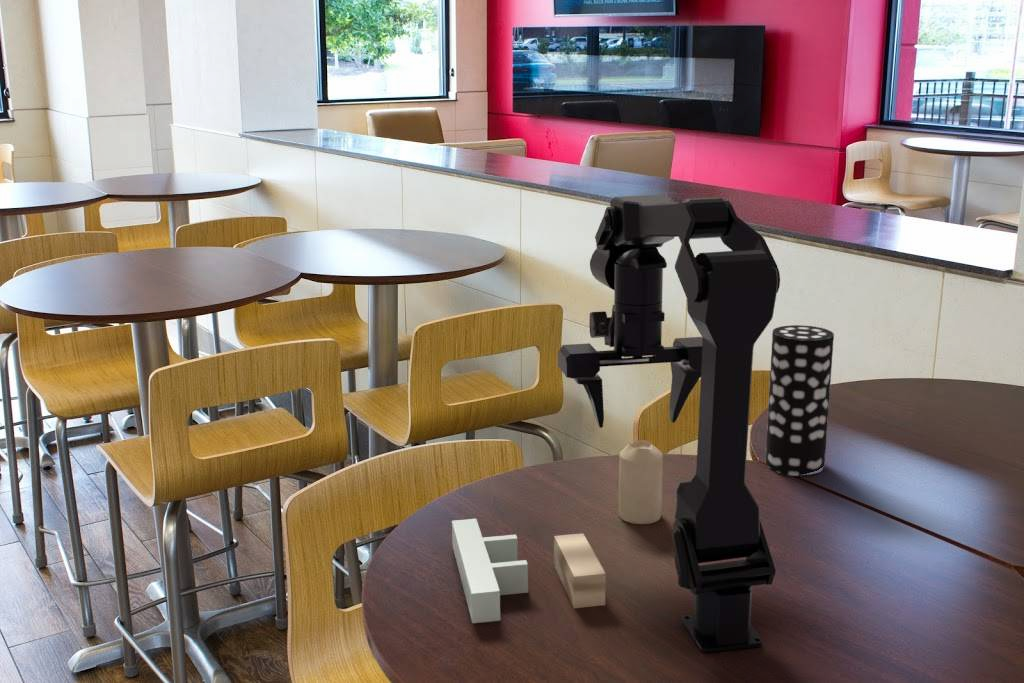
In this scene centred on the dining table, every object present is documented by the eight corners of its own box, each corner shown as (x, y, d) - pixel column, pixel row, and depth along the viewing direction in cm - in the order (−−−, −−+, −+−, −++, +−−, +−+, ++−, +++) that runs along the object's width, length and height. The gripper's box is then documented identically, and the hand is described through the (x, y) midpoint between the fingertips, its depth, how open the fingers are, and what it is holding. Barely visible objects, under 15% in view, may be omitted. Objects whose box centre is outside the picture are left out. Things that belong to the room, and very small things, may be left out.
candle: (659, 526, 130) (661, 453, 127) (616, 523, 131) (617, 450, 128) (662, 508, 135) (664, 437, 132) (620, 505, 136) (621, 435, 133)
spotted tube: (763, 473, 146) (770, 338, 141) (766, 452, 154) (774, 323, 148) (824, 478, 144) (833, 342, 138) (824, 457, 151) (833, 327, 146)
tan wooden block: (605, 606, 111) (605, 573, 110) (574, 609, 111) (574, 576, 110) (582, 564, 121) (583, 533, 120) (554, 566, 120) (554, 535, 119)
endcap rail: (537, 616, 109) (536, 587, 108) (472, 623, 108) (471, 593, 107) (508, 541, 126) (508, 515, 125) (452, 546, 125) (451, 520, 124)
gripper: (691, 284, 131) (687, 399, 135) (548, 291, 128) (549, 409, 132) (721, 301, 121) (717, 426, 124) (567, 310, 118) (568, 437, 122)
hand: (636, 424), depth 126 cm, fingers open, 9 cm apart
